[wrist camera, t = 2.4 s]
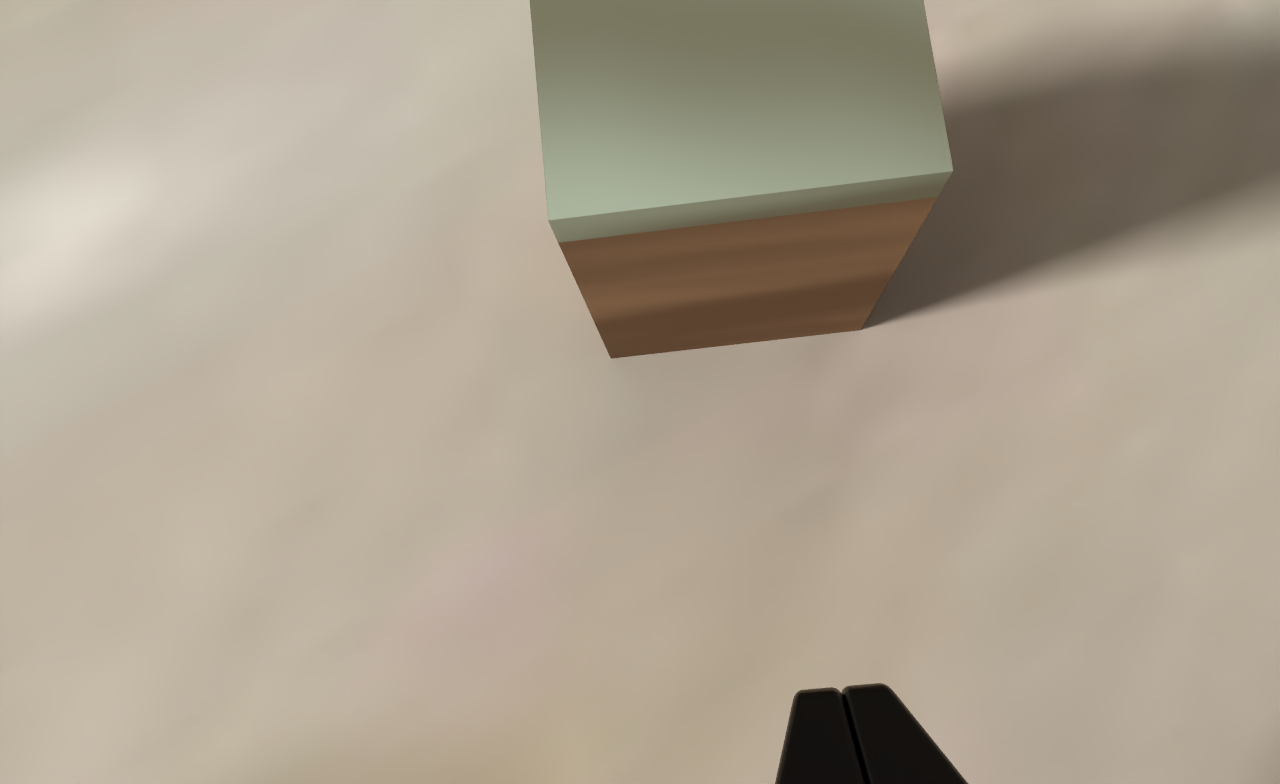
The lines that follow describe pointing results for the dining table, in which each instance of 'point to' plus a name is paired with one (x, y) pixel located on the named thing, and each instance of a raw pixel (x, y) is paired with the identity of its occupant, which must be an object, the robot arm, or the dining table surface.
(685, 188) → the walnut block
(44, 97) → the dining table surface
